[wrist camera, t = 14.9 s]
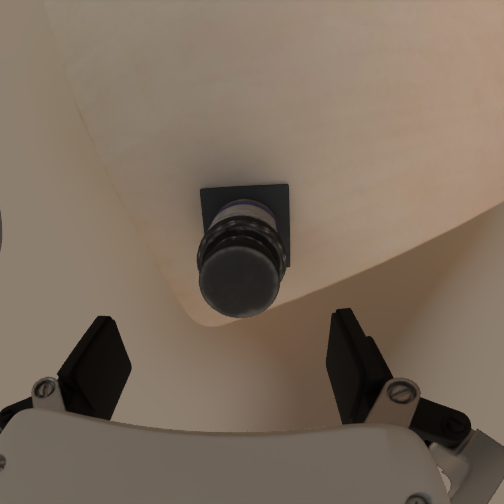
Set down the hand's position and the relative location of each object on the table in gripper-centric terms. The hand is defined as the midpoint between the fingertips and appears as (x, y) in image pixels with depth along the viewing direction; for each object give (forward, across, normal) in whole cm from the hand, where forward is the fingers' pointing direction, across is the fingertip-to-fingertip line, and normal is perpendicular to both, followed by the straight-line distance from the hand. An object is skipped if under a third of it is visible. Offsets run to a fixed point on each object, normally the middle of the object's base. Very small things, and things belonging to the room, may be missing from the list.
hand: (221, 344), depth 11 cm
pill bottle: (+16, -1, 0) cm, 17 cm away
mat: (+17, -1, 0) cm, 17 cm away
